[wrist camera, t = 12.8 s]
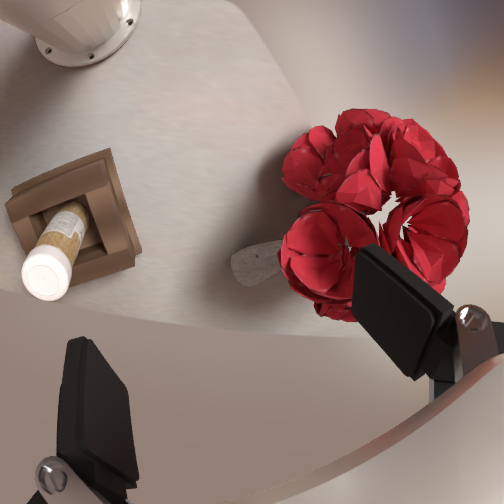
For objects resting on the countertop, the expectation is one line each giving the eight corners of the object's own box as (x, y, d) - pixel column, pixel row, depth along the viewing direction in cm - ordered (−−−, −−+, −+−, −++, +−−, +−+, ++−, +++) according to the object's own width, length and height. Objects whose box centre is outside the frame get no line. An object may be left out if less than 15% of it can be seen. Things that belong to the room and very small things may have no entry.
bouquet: (289, 261, 55) (444, 194, 40) (280, 384, 38) (504, 318, 23) (211, 172, 44) (394, 70, 29) (155, 300, 27) (499, 147, 12)
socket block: (14, 186, 27) (-2, 200, 23) (110, 147, 30) (104, 155, 25) (54, 277, 34) (45, 300, 30) (141, 248, 37) (142, 269, 33)
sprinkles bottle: (84, 240, 32) (63, 309, 21) (52, 228, 30) (17, 293, 19) (95, 207, 31) (73, 266, 20) (61, 194, 29) (23, 248, 18)
